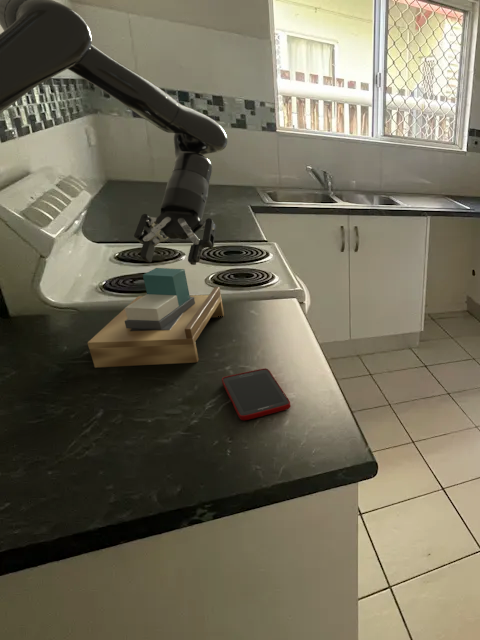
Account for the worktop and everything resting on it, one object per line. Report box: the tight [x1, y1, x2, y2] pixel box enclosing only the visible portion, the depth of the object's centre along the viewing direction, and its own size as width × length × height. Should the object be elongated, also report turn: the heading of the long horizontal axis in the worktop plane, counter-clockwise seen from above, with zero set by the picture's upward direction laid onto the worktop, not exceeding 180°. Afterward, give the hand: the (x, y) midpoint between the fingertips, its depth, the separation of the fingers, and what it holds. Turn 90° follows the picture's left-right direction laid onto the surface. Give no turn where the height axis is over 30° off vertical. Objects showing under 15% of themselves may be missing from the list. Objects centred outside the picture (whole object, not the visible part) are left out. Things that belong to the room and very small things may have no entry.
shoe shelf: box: [87, 286, 225, 369], centre depth 96 cm, size 16×24×7 cm, turn 18°
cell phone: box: [221, 368, 292, 421], centre depth 81 cm, size 8×15×1 cm, turn 39°
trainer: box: [124, 267, 195, 329], centre depth 94 cm, size 14×6×8 cm, turn 8°
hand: (169, 261), depth 98 cm, fingers open, 8 cm apart
